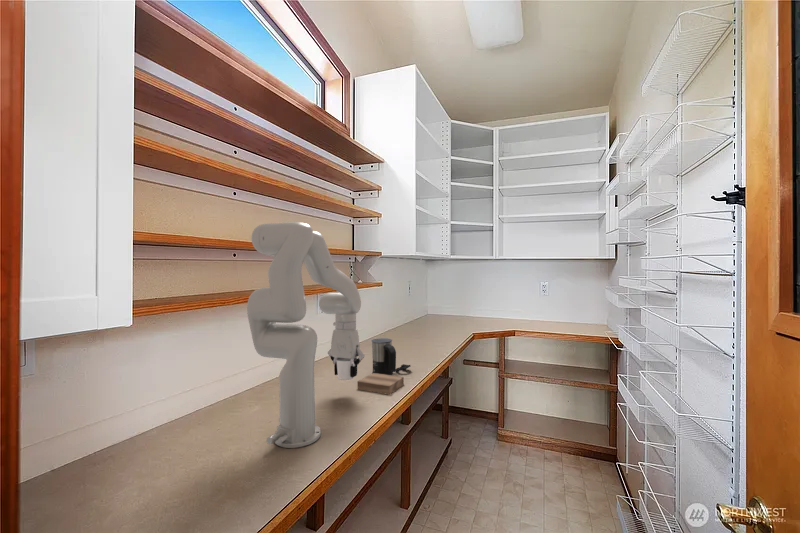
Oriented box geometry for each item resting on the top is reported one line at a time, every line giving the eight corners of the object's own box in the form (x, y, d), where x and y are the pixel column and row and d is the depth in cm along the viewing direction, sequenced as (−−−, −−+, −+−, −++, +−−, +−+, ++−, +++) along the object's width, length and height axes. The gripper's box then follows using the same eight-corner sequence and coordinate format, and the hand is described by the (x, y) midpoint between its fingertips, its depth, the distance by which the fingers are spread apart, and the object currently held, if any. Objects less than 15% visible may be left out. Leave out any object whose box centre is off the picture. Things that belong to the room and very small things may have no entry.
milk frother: (367, 374, 160) (367, 340, 159) (390, 365, 172) (389, 334, 172) (392, 380, 151) (392, 344, 151) (414, 371, 163) (414, 338, 163)
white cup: (353, 380, 130) (353, 360, 130) (334, 380, 130) (334, 360, 130) (356, 375, 137) (356, 356, 137) (338, 375, 137) (338, 356, 137)
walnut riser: (389, 394, 134) (389, 386, 134) (357, 389, 141) (357, 381, 141) (403, 384, 145) (403, 377, 145) (373, 380, 151) (373, 372, 151)
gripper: (320, 326, 134) (320, 375, 134) (360, 328, 127) (360, 380, 126) (332, 323, 141) (332, 370, 140) (371, 326, 133) (371, 375, 133)
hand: (345, 374), depth 133 cm, fingers closed on white cup, 6 cm apart
